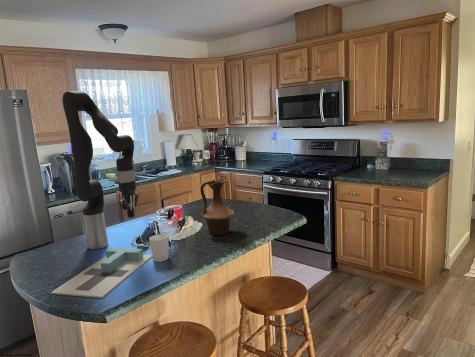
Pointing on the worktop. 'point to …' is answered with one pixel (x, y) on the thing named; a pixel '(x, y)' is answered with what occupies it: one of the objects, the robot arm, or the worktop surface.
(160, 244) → the white cup
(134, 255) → the t block
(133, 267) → the mat
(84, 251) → the worktop surface
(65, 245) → the worktop surface
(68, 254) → the worktop surface
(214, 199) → the pitcher
